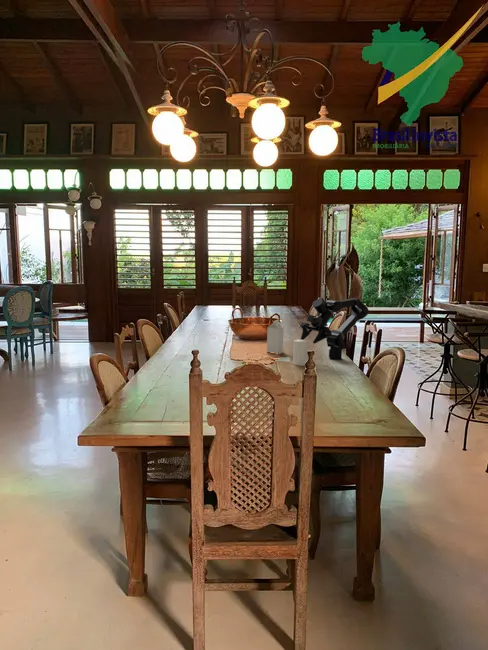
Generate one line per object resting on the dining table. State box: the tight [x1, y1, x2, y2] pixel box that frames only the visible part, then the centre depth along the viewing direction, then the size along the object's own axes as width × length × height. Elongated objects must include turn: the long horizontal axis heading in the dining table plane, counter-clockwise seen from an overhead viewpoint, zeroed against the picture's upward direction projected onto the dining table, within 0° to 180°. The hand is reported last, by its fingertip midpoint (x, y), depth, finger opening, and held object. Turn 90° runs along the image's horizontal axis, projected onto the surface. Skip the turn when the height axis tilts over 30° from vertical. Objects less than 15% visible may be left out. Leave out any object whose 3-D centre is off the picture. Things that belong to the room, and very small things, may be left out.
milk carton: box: [266, 319, 285, 355], centre depth 280 cm, size 7×7×19 cm
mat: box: [274, 356, 291, 362], centre depth 266 cm, size 10×10×1 cm
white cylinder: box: [292, 339, 309, 367], centre depth 255 cm, size 7×7×12 cm
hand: (307, 341), depth 257 cm, fingers open, 9 cm apart
